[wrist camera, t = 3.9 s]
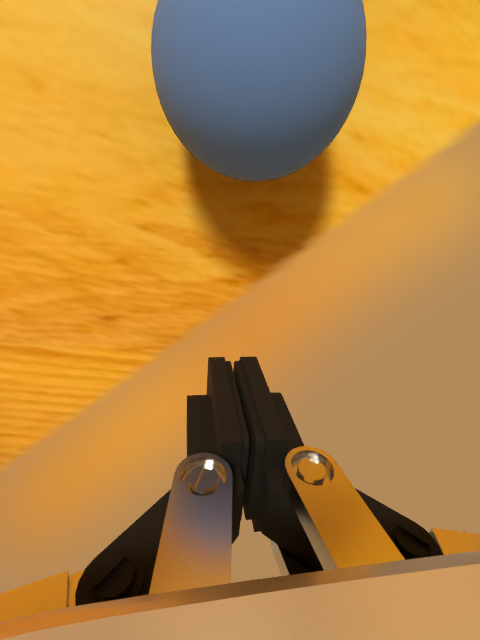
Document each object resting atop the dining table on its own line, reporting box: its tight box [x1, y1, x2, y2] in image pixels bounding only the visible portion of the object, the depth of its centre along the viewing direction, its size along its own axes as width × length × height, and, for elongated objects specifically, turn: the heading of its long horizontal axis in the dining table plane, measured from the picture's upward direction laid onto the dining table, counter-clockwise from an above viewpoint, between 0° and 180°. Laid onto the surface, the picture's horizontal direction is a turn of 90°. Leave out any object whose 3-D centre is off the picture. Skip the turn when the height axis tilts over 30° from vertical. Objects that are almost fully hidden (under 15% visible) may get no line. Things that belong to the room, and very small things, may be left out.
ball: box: [151, 0, 366, 181], centre depth 10 cm, size 6×6×6 cm
